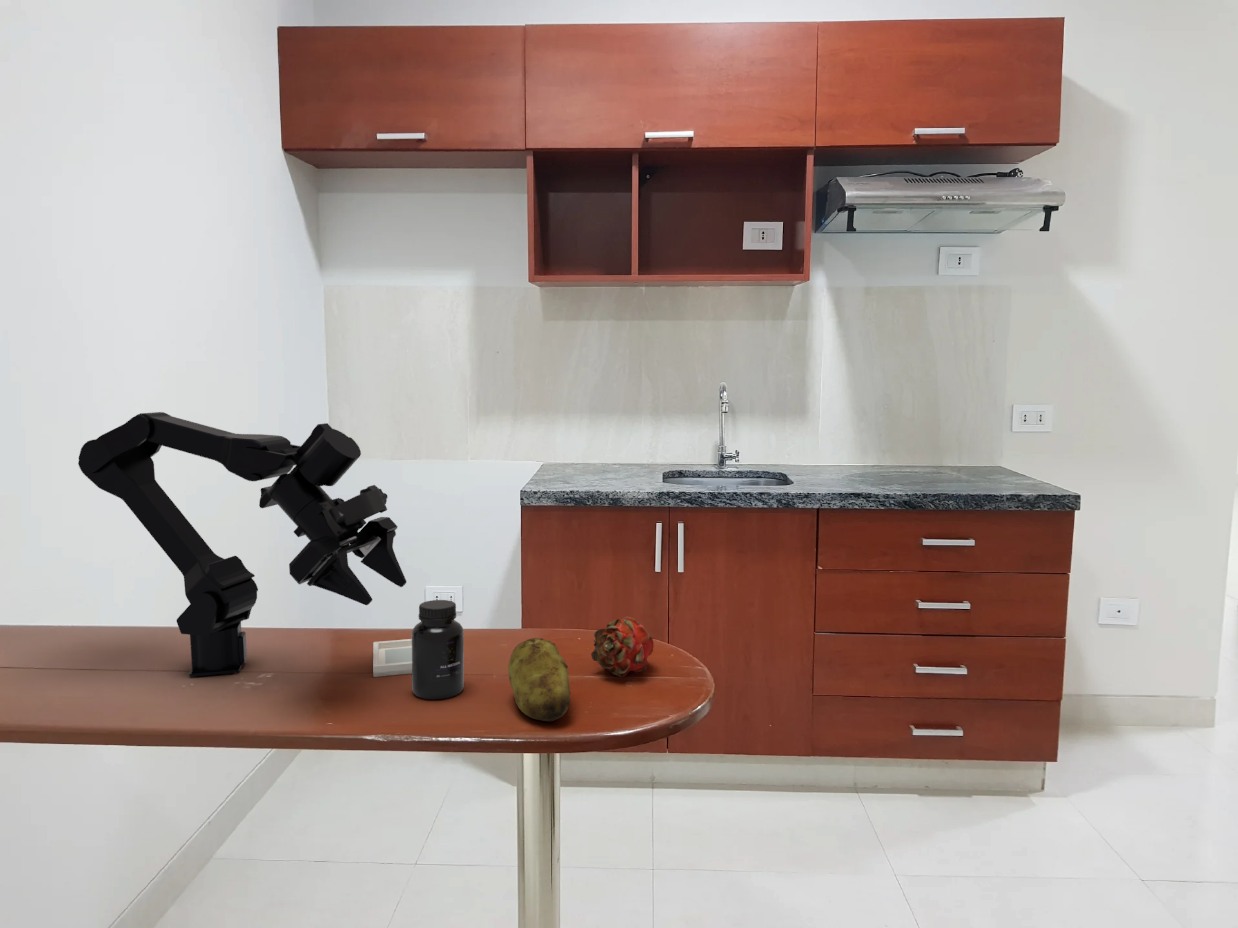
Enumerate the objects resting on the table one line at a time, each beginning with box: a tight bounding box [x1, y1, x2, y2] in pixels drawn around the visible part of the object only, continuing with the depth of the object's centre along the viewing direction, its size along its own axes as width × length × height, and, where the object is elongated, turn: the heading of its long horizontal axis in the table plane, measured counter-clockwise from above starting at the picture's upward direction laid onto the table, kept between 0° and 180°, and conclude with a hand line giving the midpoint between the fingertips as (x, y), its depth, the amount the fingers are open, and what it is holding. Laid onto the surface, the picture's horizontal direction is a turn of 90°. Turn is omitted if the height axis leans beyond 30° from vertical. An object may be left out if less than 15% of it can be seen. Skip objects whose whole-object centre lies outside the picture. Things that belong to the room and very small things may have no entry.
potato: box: [507, 637, 571, 723], centre depth 108 cm, size 8×13×8 cm, turn 1°
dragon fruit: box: [590, 616, 655, 678], centre depth 121 cm, size 8×8×12 cm
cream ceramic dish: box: [372, 638, 412, 678], centre depth 125 cm, size 11×11×2 cm
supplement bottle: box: [411, 599, 465, 700], centre depth 113 cm, size 7×7×12 cm
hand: (387, 593), depth 114 cm, fingers open, 9 cm apart
